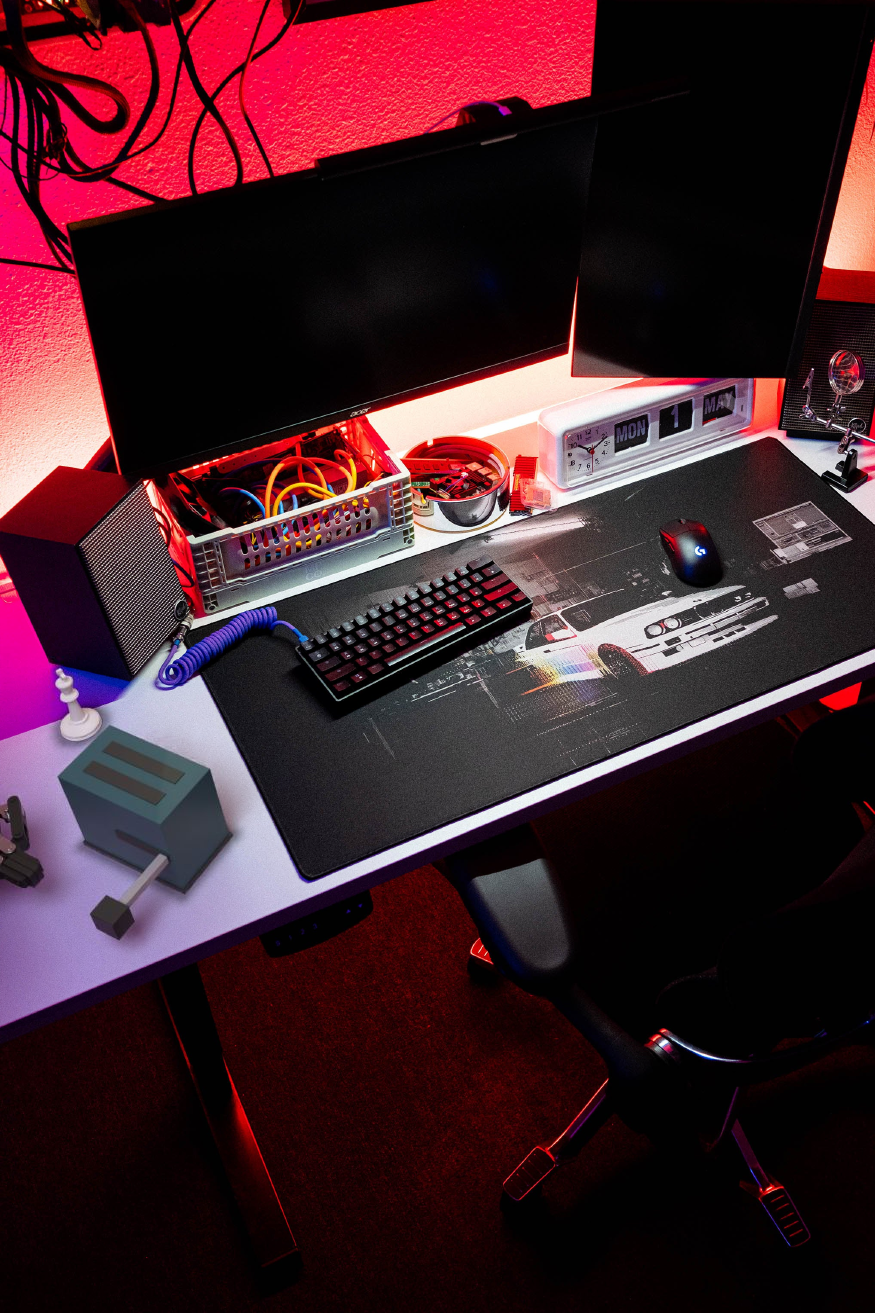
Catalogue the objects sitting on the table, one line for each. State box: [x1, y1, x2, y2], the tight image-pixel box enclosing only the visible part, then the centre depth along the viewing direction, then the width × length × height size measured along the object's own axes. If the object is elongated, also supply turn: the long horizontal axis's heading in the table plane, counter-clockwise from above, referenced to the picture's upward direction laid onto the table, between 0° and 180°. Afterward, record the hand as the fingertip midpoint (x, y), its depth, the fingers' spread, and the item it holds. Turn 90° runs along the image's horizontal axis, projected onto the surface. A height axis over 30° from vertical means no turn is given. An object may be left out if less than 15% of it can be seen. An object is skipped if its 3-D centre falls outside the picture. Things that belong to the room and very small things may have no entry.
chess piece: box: [55, 668, 103, 742], centre depth 138 cm, size 5×5×10 cm
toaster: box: [57, 724, 234, 895], centre depth 124 cm, size 8×14×12 cm, turn 63°
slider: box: [89, 854, 169, 941], centre depth 116 cm, size 9×3×3 cm, turn 153°
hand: (37, 877), depth 116 cm, fingers closed
